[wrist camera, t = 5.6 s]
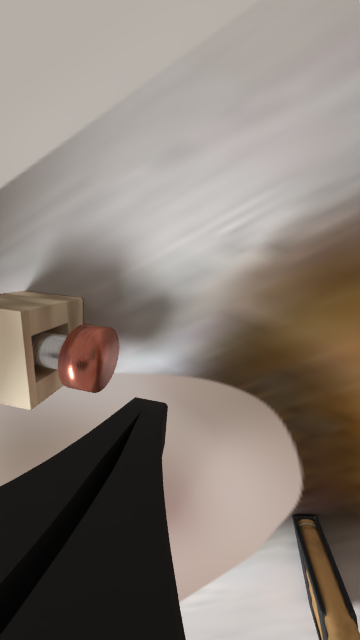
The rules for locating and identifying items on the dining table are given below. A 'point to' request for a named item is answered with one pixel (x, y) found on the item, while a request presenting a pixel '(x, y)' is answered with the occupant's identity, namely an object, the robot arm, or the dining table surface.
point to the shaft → (79, 356)
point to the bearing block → (16, 344)
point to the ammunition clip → (324, 583)
